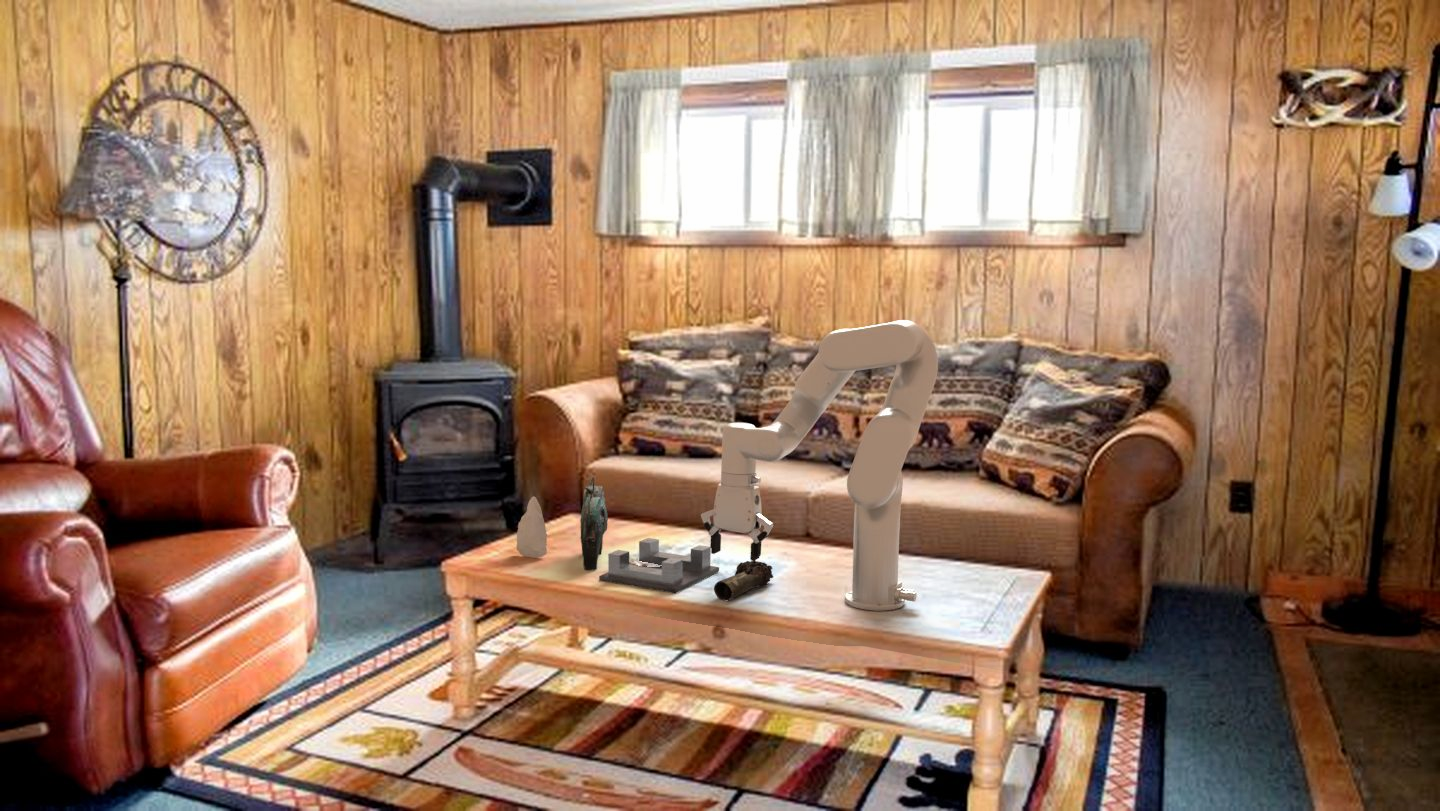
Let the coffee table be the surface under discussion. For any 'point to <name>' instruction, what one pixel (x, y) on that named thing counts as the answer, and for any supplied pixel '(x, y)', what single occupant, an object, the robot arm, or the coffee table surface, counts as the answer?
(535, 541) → the stone tool
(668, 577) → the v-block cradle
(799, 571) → the coffee table surface
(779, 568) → the coffee table surface
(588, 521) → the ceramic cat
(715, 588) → the metal pipe
